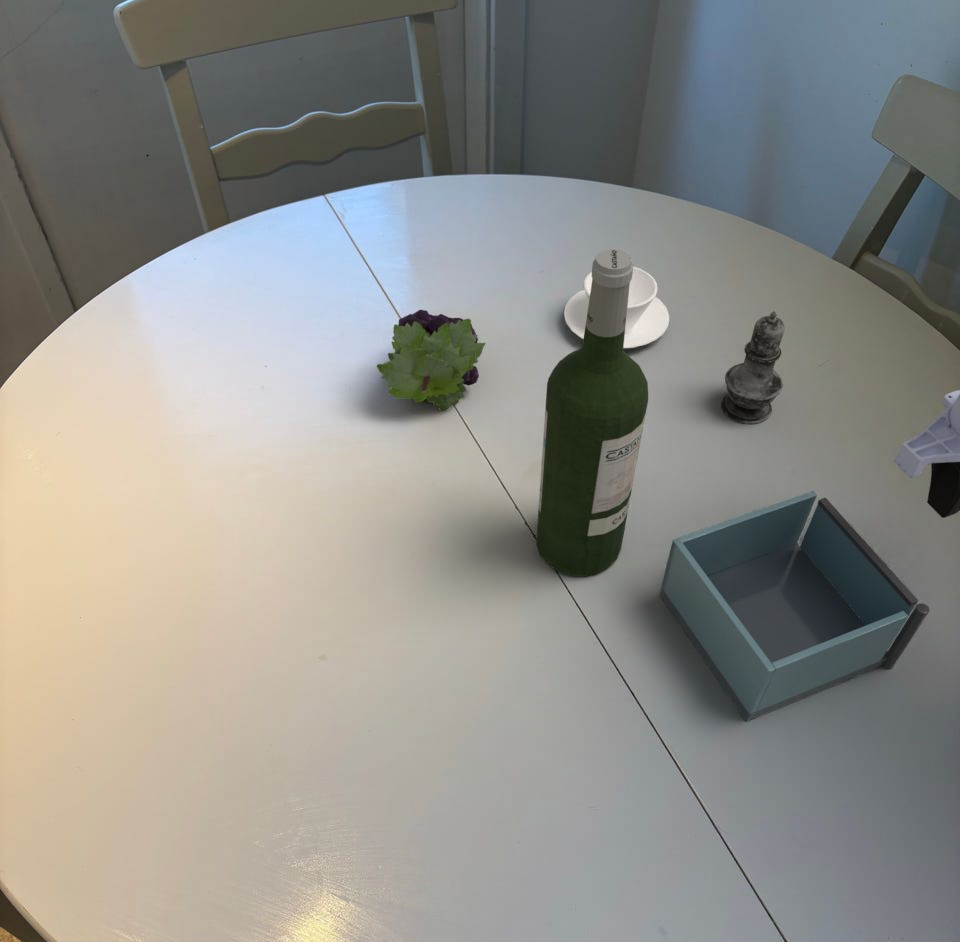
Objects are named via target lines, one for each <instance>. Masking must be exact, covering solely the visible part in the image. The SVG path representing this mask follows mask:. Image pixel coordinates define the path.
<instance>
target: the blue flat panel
mask: <svg viewBox="0 0 960 942" xmlns="http://www.w3.org/2000/svg"><path fill="white" fill-rule="evenodd" d="M799 546H800V547H801V549H802V550H803V551H804V552H805V553H806V555H807V556H808V557H809V558H810V559H811V561H812V562H813V563H814V564H815V565H816V566H817V568H818V569H819V570H820V571H821V572H822V574H823V575H824V576H825V577H826V578H827V580H828V581H829V582H830V583H831V584H832V585H833V587H834V588H835V589H836V590H837V591H838V593H839V594H840V595H841V596H842V597H843V599H844V600H845V601H846V602H847V603H848V605H849V606H850V607H851V608H852V609H853V611H854V612H855V613H856V614H857V615H858V616H859V618H860V619H861V620H862V621H863V622H864V624H865V625H869V624H871V623H874V622H876V621H879V620H881V619H884V618H886V617H889V616H891V615H894V614H896V613H899V612H901V611H904V612H905V613H906V614H907V615H908V617H907V619H908V618H909V617H910V615H911V613H912V612H913V610H914V609H915V607H916V605H917V604H918V603H919V599H918V598H917V597H916V596H915V595H914V593H912V591H911V590H910V589H909V588H908V587H907V586H906V585H905V584H904V582H902V580H901V579H900V577H898V576H897V575H896V574H895V572H894V571H892V569H891V568H890V567H889V566H888V565H887V563H885V562H884V561H883V559H882V558H881V557H880V556H879V555H878V553H876V552H875V551H874V549H873V548H872V547H871V546H870V545H869V544H868V543H867V541H866V540H865V539H863V537H862V536H861V535H860V534H859V533H858V532H857V530H856V529H855V528H854V527H853V526H852V525H851V524H850V523H849V521H847V520H846V518H845V517H844V516H843V515H842V514H841V512H839V511H838V510H837V508H836V507H835V506H834V505H833V504H832V503H831V502H830V501H829V500H828V498H826V497H822V498H820V499H818V501H817V505H816V507H815V509H814V512H813V515H812V517H811V518H810V521H809V524H808V527H807V528H806V531H805V534H804V536H803V538H802V541H801V542H800V545H799ZM903 626H904V624H903V625H902V627H903ZM898 634H899V632H898V633H897V635H898ZM893 642H894V640H893V641H892V643H893Z"/></svg>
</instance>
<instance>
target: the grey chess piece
mask: <svg viewBox="0 0 960 942" xmlns="http://www.w3.org/2000/svg"><path fill="white" fill-rule="evenodd" d="M785 326H786V325H785V324H784V322H783V320H782V319H781V318H779V317H778V314H777V313H776V311H771V312H770V313H769V315H764V316H762V317H760V318H758V319H757V321H755V324H754V327H753V330H752V334H751V337H750V341H749V342H747V343H746V344H745V346H744V349H743V351H744V353H745V357H744V361H743V362H741V363H738V364H735V365H733V366H731V367H730V368H729V369H728V370H727V371H726V373H725V376H724V381H725V385H726V391H727V393H726V394H725V395H724V396H723V397H722V399H721V402H720V407H721V410H722V412H723V413H724V414H725V415H726V417H728V418H729V419H730V420H732V421H734V422H737V423H740V424H743V425H758V424H761V423H763V422H766V421H767V420H768V419H769V418H770V416H771V415H772V412H773V407H772V404H771V403H772V402H773V401H774V400H775V399H776V398H777V397H778V396H779V395H780V394H781V392H782V390H783V389H784V388H783V387H784V380H783V379H782V377H781V374H780V373H778V372H777V371H776V370H775V365H776V362H777V361H778V360H779V359H780V358H781V356H782V350H781V347H780V346H781V342H782V339H783V336H784V333H785V329H786V327H785Z"/></svg>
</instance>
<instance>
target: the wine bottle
mask: <svg viewBox="0 0 960 942" xmlns="http://www.w3.org/2000/svg"><path fill="white" fill-rule="evenodd" d="M633 267H634V263H633V261H632V256H631V255H630V254H629V253H628V252H626V251H624V250H622V249H617V248H607V249H604V250H601V251H600V252H598V253H597V254H596V256H595V258H594V260H593V262H592V267H591V272H592V285H591V292H590V299H589V305H588V312H587V319H586V326H585V332H584V339H582V340H583V341H582V346H581V348H578V349H576V350H574V351H572V352H570V353H568V354H567V355H565V356H564V357H563V358H562V359H560V360H559V362H558V363H557V364H556V365H555V366H554V368H553V369H552V371H551V373H550V375H549V377H548V379H547V383H546V393H545V394H546V395H545V410H544V422H543V437H542V438H543V439H542V452H541V466H540V480H539V481H540V483H539V494H538V496H539V497H538V510H537V511H538V512H537V527H536V542H535V543H536V544H535V546H536V548H537V551H538V553H539V556H540V557H541V559H542V560H543V561H544V562H545V564H547V565H548V566H549V567H551V568H552V569H554V570H555V571H557V572H558V573H561V574H565V575H568V576H571V577H589V576H593V575H598V574H600V573H602V572H603V571H606V570H607V569H609V568H610V567H611V566H612V565H613V564H614V563H615V562H616V561H617V560H618V558H619V555H620V553H621V550H622V546H623V541H624V534H625V529H626V523H627V518H628V513H629V507H630V501H631V496H632V492H633V486H634V479H635V475H636V470H637V469H636V468H637V463H638V458H639V452H640V448H641V447H640V446H641V442H642V436H643V430H644V424H645V419H646V414H647V409H648V405H649V385H648V384H649V382H648V380H647V378H646V376H645V373H644V371H643V369H642V368H641V366H640V365H639V363H637V361H635V360H634V359H633V358H632V357H631V356H629V355H628V354H627V353H626V352H625V351H624V348H623V346H624V336H625V326H626V316H627V306H628V296H629V286H630V281H631V279H632V274H633Z"/></svg>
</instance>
